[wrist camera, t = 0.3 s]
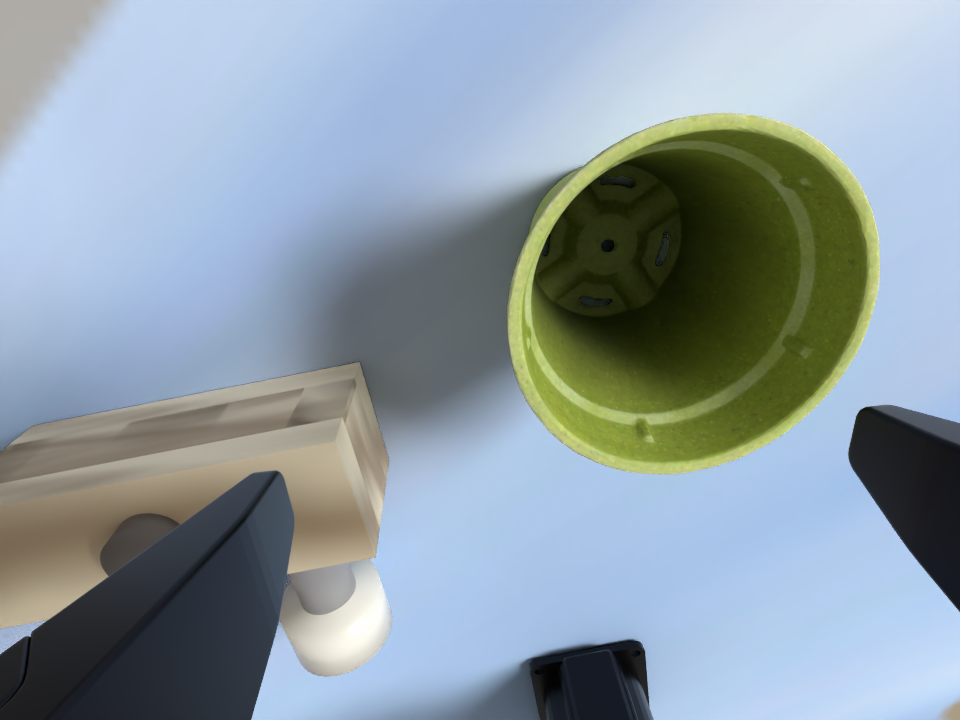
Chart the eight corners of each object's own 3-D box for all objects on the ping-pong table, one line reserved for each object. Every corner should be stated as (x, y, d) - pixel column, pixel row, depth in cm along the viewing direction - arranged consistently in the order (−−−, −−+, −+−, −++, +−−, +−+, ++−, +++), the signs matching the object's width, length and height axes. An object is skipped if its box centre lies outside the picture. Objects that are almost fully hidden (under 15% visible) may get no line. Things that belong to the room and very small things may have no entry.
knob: (395, 583, 27) (388, 665, 23) (308, 600, 27) (286, 685, 23) (356, 468, 24) (340, 539, 20) (258, 487, 24) (223, 562, 20)
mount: (389, 459, 25) (372, 578, 19) (89, 517, 25) (-27, 654, 19) (359, 361, 23) (329, 459, 17) (33, 425, 23) (-120, 546, 17)
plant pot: (474, 348, 23) (493, 472, 15) (491, 100, 19) (528, 96, 11) (689, 356, 24) (811, 477, 16) (747, 120, 20) (945, 129, 12)
